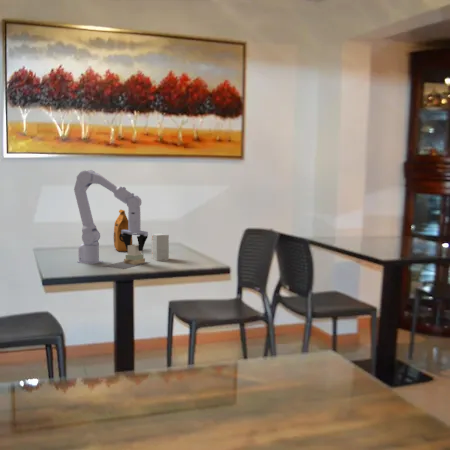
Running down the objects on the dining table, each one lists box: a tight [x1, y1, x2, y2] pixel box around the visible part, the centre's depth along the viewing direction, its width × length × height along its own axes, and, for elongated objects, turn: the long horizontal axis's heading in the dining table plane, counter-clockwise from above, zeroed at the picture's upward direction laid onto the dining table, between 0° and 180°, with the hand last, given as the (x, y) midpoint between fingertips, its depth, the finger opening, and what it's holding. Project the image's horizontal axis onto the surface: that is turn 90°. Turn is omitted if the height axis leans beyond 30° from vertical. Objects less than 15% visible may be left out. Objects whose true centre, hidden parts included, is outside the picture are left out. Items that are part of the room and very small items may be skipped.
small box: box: [151, 232, 170, 262], centre depth 290 cm, size 8×6×13 cm
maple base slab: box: [123, 257, 146, 265], centre depth 279 cm, size 7×7×2 cm
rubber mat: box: [103, 260, 151, 270], centre depth 275 cm, size 13×20×1 cm, turn 150°
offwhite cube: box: [127, 243, 142, 256], centre depth 279 cm, size 4×4×4 cm
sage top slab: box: [125, 253, 145, 260], centre depth 279 cm, size 6×6×2 cm
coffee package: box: [113, 209, 133, 252], centre depth 320 cm, size 10×12×22 cm
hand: (134, 250), depth 279 cm, fingers open, 7 cm apart
